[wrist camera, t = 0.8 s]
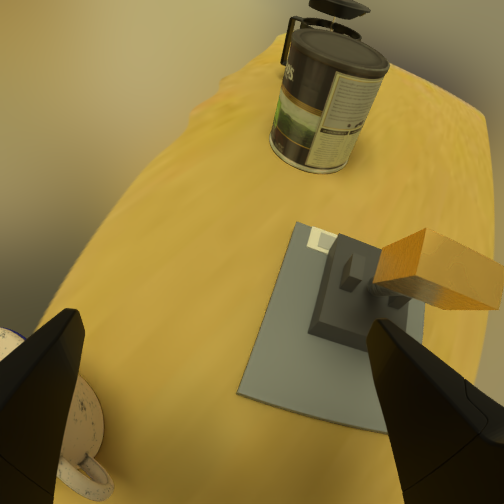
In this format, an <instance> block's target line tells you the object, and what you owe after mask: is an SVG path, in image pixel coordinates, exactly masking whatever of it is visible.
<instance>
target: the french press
mask: <svg viewBox="0 0 504 504" xmlns="http://www.w3.org/2000/svg"><path fill="white" fill-rule="evenodd" d="M309 6H310V7H311V8H313V9H315V10H318V11H320V12H323V13H326V14H329V15H331V16H334V18H333V22H332V21H328V20H324V19H318V18H301V17H298V16H293V17H291V18H290V20H289V24H288V30H287V34H286V38H285V43H284V48H283V53H282V57H281V62H280V63H281V65H284V66H286V64H287V56H288V52H289V47H290V43H291V36H292V33H293V30H294V25H295V21H296V20H297V21H300V22H301V25H300V29H305V28H308V29H309V28H311V29H314V28H312V27H310V26H308V25H316V26H322V27H326V28H330V31H333V32H336V33H340V34H343V35H344V34H346V35H348V36H350V37H352V38H354V39H356V40H358V41H361V39H362V37H361V35H360V34H359V33H357V32H356V31H354V30H352V29H350V28H348V27H346V26H344V25H341V24H338V23H335V20H336V17H338V18H342V19H348V20H350V19H353V18H355V17H358V16H362V15H364V14H366V13H370V11H371V10H370V9H369V8H368V7H366V6H364V5H362V4H360V3H358V2H355V1H353V0H310V1H309ZM333 29H334V30H333Z"/></svg>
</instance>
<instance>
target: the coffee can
mask: <svg viewBox="0 0 504 504" xmlns="http://www.w3.org/2000/svg"><path fill="white" fill-rule="evenodd" d="M389 67H390V65H389V62H388V61H387V59H386V58H385V57H384V56H383V55H382V54H380V53H379V52H378V51H376V50H375V49H373V48H372V47H370V46H368V45H367V44H364V43H363V42H361V41H358V40H356V39H354V38H351V37H349V36H346V35H343V34H340V33H336V32H332V31H327V30H321V29H311V28H309V29H308V28H305V29H298V30H296V31H294V32H293V33H292V36H291V46H290V51H289V54H288V59H287V64H286V68H285V73H284V77H283V81H282V86H281V91H280V95H279V100H278V104H277V109H276V113H275V117H274V122H273V126H272V130H271V133H270V137H269V140H270V144H271V147H272V149H273V150H274V152H275V153H276V154H277V155H278V156H279V157H280V158H281V159H282V160H284V161H285V162H286V163H288V164H289V165H291V166H293V167H295V168H298V169H300V170H303V171H306V172H311V173H317V174H328V173H333V172H337V171H339V170H341V169H342V168H343V167H344V166H345V165H346V164H347V162H348V159H349V156H350V154H351V151H352V149H353V147H354V145H355V142H356V140H357V138H358V136H359V134H360V131H361V129H362V127H363V125H364V122H365V120H366V118H367V115H368V113H369V111H370V108H371V106H372V104H373V102H374V99H375V97H376V95H377V92H378V90H379V88H380V85H381V83H382V80H383V78H384V76H385V74H386V73H387V72H388V70H389Z"/></svg>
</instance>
